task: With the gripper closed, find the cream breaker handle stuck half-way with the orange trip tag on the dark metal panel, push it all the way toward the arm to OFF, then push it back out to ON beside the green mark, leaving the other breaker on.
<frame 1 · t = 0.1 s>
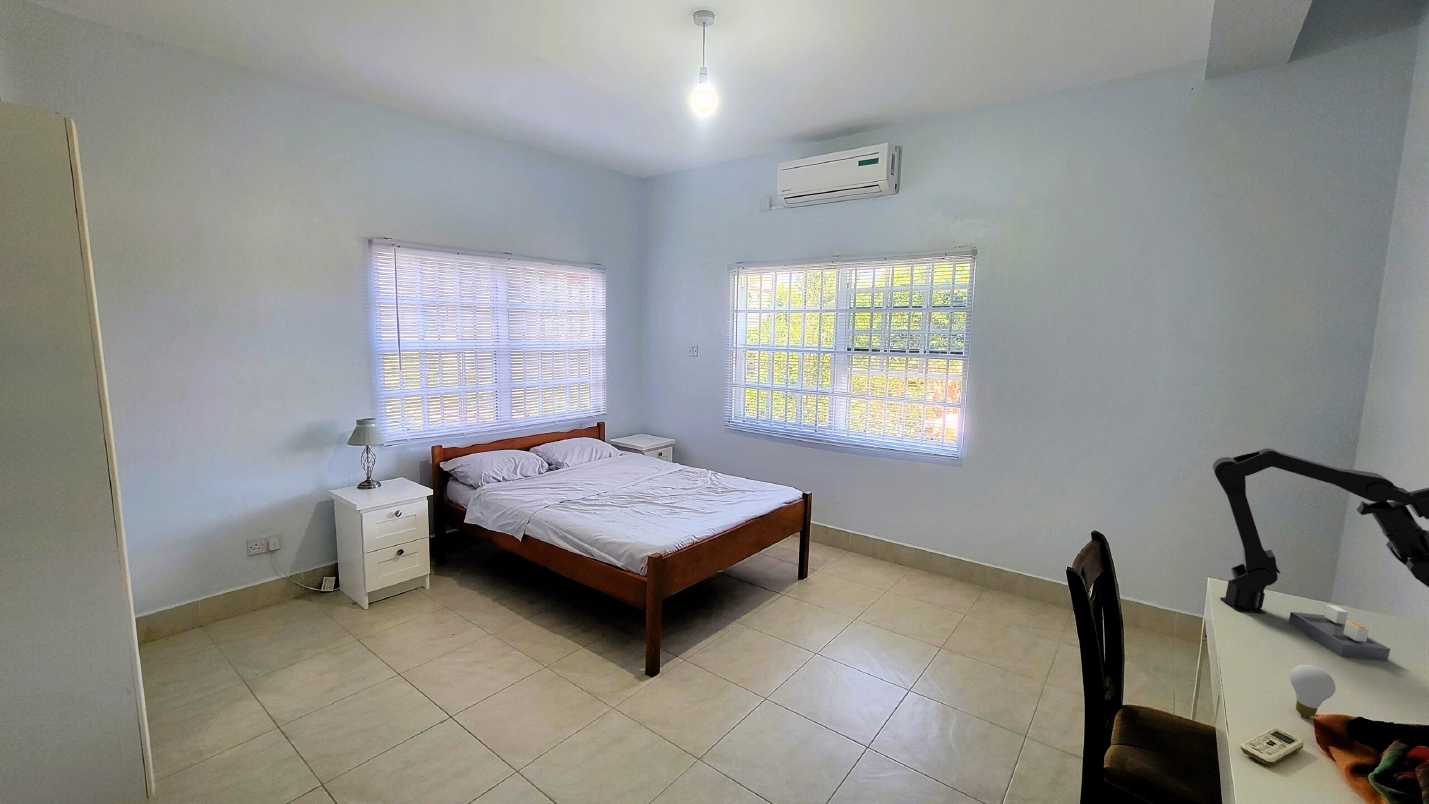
tripped handle: (1355, 630, 129), point 5 cm above the table, slide at 0.0 cm
light bulb: (1304, 716, 107), on the table
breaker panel: (1334, 641, 134), on the table
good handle: (1335, 614, 136), point 5 cm above the table, slide at 2.5 cm
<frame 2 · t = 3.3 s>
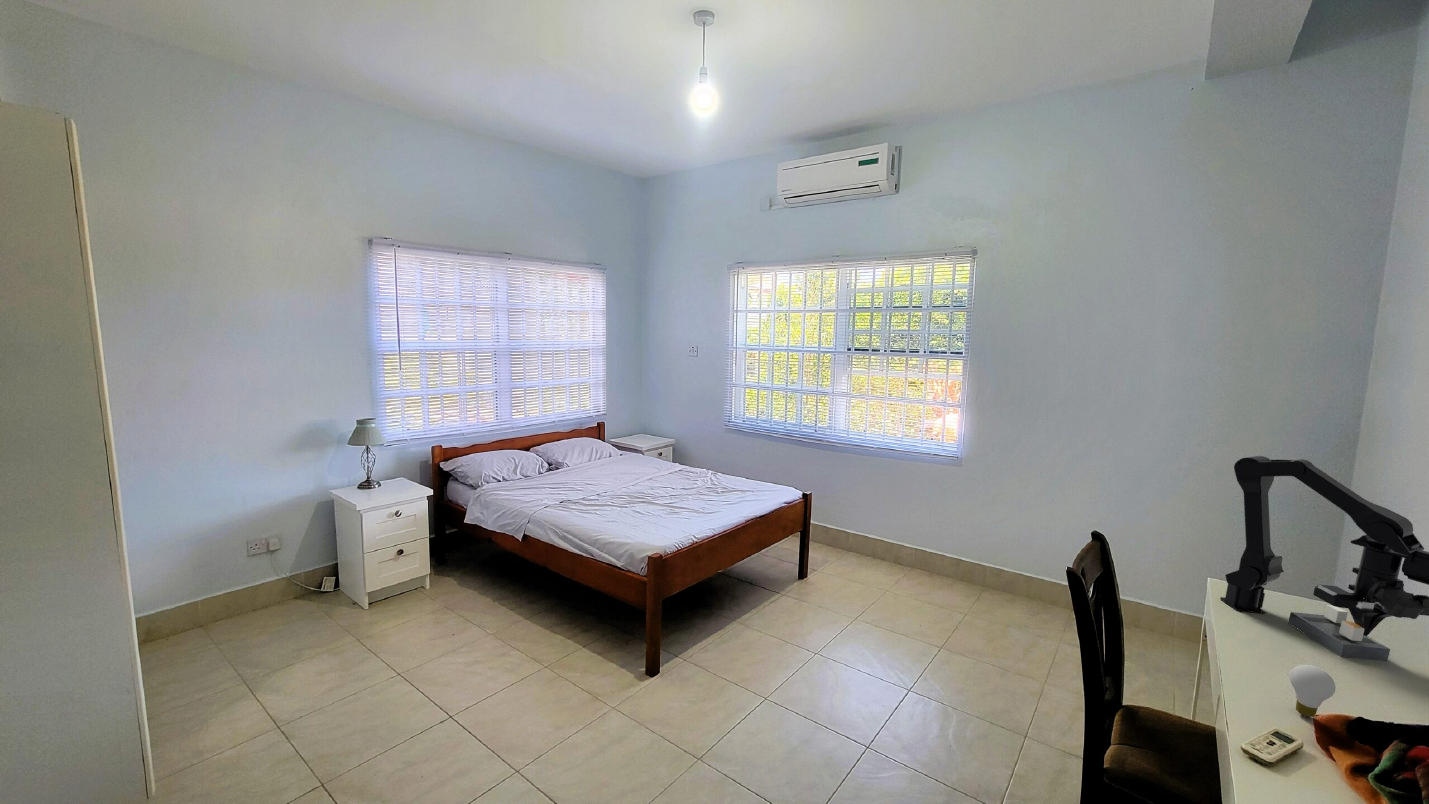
hand: (1362, 634, 129), 4 cm above the table, tool pointing down, fingers closed
tripped handle: (1351, 630, 129), point 5 cm above the table, slide at -0.8 cm, touching gripper
everything else where it was.
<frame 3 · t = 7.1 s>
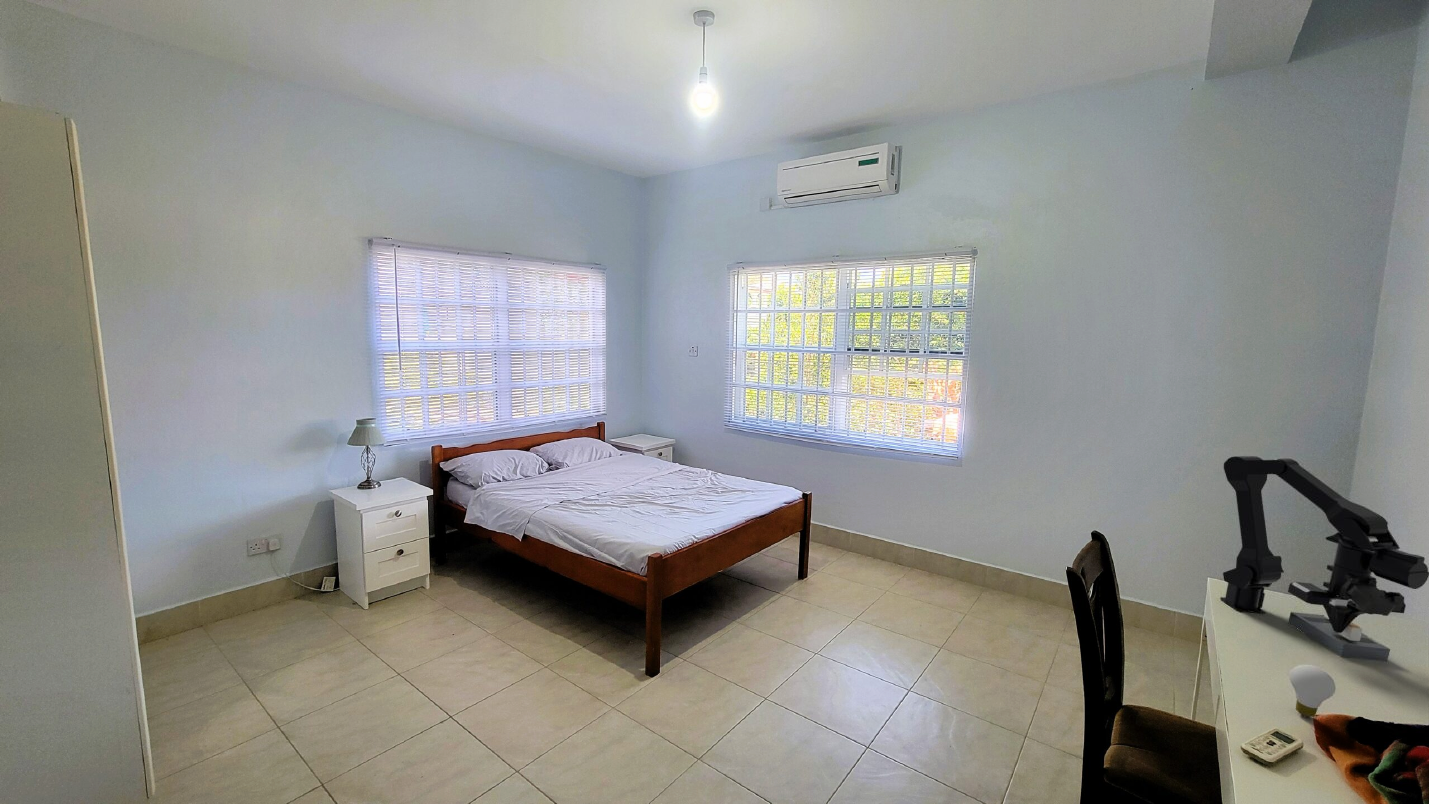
hand: (1337, 631, 129), 4 cm above the table, tool pointing down, fingers closed
tripped handle: (1349, 630, 129), point 5 cm above the table, slide at -1.2 cm, touching gripper
everything else where it was.
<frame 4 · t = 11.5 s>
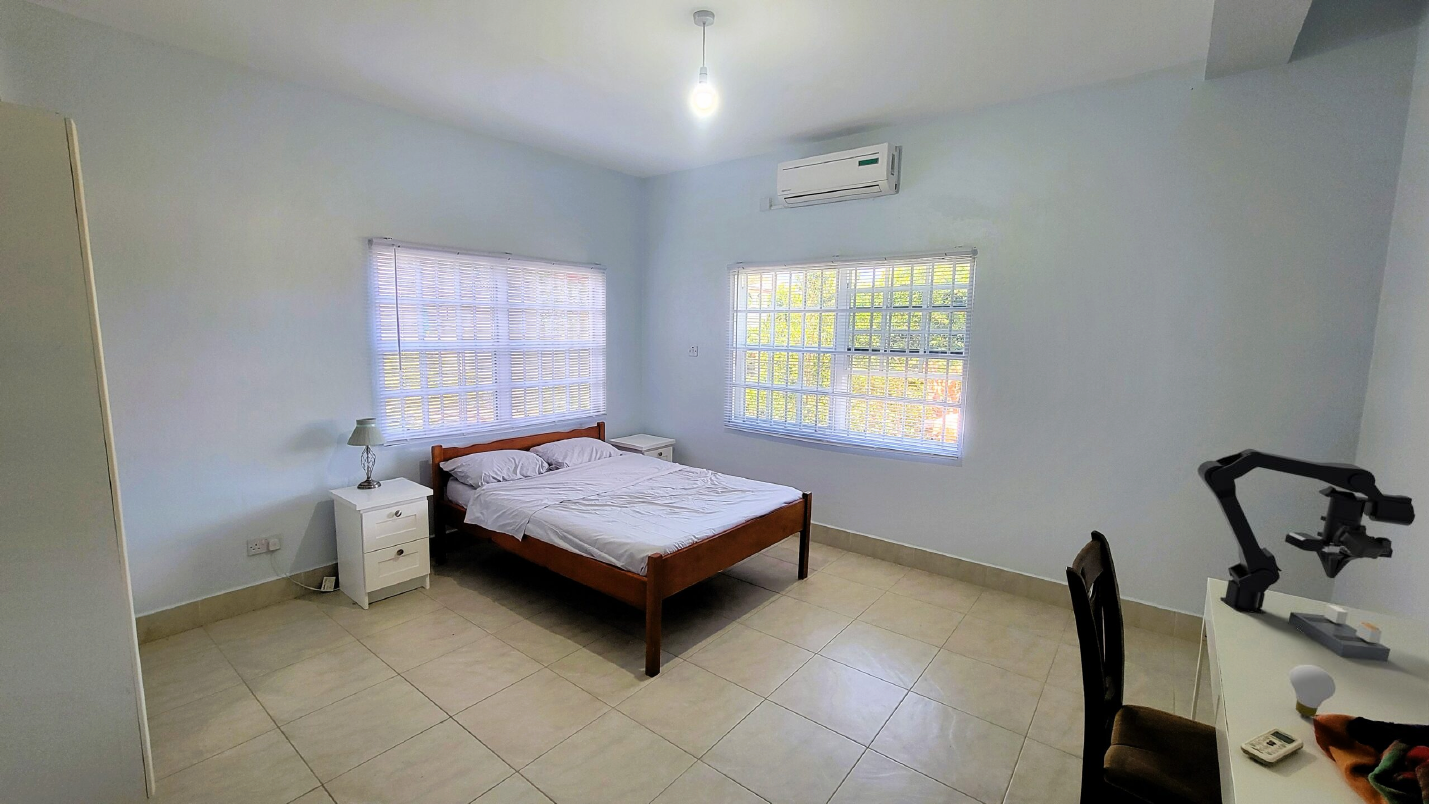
hand: (1330, 577, 140), 12 cm above the table, tool pointing down, fingers closed
tripped handle: (1368, 632, 128), point 5 cm above the table, slide at 2.6 cm
everything else where it was.
at the end: tripped handle slide at 2.6 cm; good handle slide at 2.5 cm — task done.
